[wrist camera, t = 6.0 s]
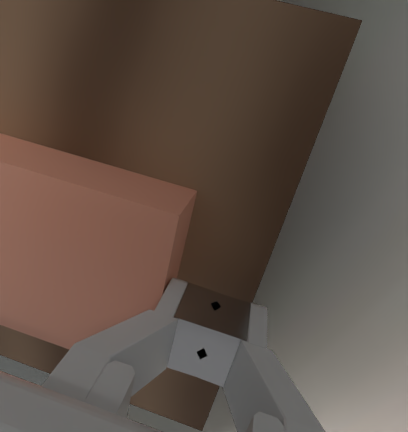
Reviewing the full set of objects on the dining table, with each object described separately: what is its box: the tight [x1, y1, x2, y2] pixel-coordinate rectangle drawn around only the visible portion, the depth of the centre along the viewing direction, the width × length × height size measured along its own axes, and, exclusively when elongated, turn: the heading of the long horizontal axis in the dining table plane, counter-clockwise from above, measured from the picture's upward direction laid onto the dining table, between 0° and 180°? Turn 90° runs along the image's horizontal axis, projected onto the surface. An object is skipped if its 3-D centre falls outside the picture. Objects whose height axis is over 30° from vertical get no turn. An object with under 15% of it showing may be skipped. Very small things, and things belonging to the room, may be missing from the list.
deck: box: [0, 0, 362, 431], centre depth 12 cm, size 12×16×2 cm
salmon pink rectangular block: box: [0, 133, 197, 350], centre depth 10 cm, size 9×6×2 cm, turn 77°
